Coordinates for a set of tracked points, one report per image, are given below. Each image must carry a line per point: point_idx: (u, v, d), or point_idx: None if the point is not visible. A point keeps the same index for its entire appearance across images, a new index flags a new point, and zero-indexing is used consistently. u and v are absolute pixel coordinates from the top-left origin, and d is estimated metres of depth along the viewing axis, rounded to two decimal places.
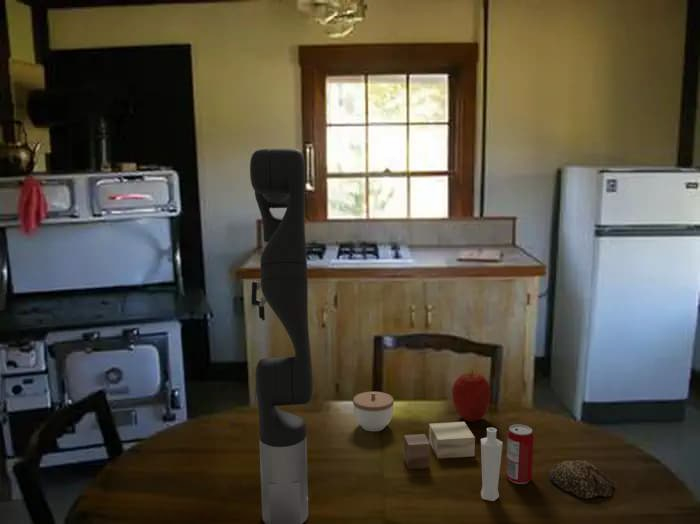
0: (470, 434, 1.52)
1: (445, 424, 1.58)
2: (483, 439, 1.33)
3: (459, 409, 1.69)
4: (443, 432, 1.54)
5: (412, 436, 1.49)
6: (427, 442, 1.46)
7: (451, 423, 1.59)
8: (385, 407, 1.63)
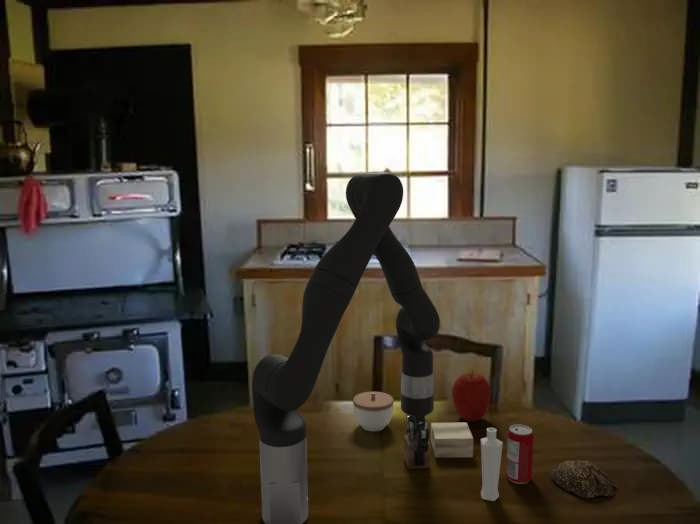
0: (469, 435, 1.52)
1: (446, 424, 1.58)
2: (483, 439, 1.33)
3: (459, 409, 1.69)
4: (442, 431, 1.54)
5: None
6: None
7: (453, 423, 1.59)
8: (385, 407, 1.63)
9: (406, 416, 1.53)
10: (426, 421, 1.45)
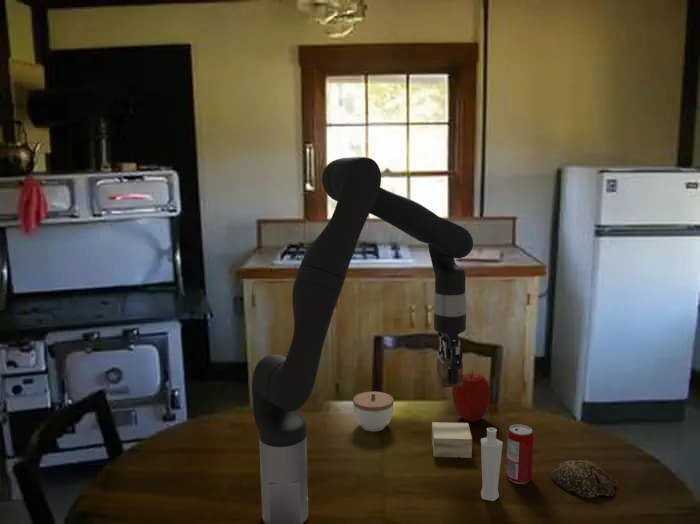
0: (468, 436, 1.52)
1: (447, 424, 1.58)
2: (483, 439, 1.33)
3: (459, 409, 1.69)
4: (442, 431, 1.54)
5: None
6: None
7: (454, 423, 1.59)
8: (385, 407, 1.63)
9: (438, 339, 1.56)
10: (459, 340, 1.49)
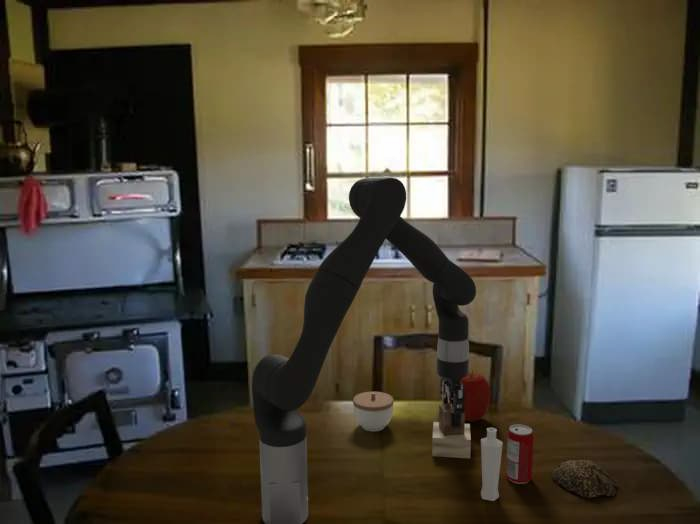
0: (468, 437, 1.51)
1: None
2: (483, 439, 1.33)
3: None
4: None
5: (447, 404, 1.55)
6: None
7: None
8: (385, 407, 1.63)
9: (440, 379, 1.59)
10: (461, 384, 1.51)
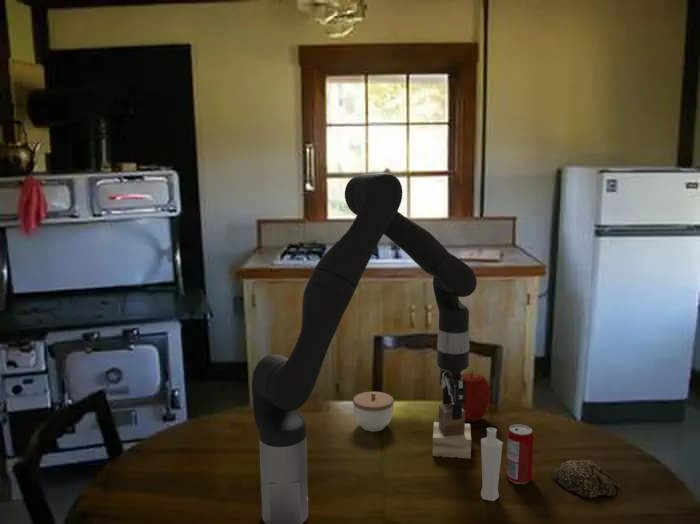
0: (468, 436, 1.51)
1: None
2: (483, 439, 1.33)
3: None
4: None
5: (447, 405, 1.55)
6: (462, 410, 1.52)
7: None
8: (385, 407, 1.63)
9: (440, 369, 1.59)
10: (461, 376, 1.51)
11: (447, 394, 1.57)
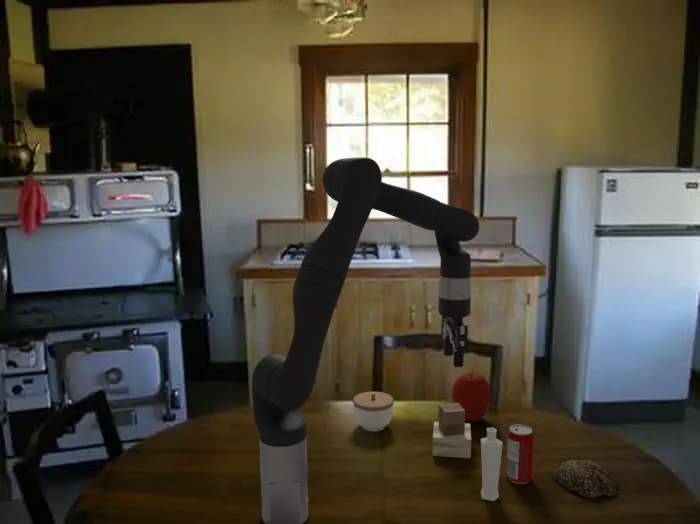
0: (468, 436, 1.51)
1: None
2: (483, 439, 1.33)
3: None
4: None
5: (446, 405, 1.55)
6: (462, 409, 1.52)
7: None
8: (385, 407, 1.63)
9: None
10: (463, 323, 1.49)
11: (448, 344, 1.55)
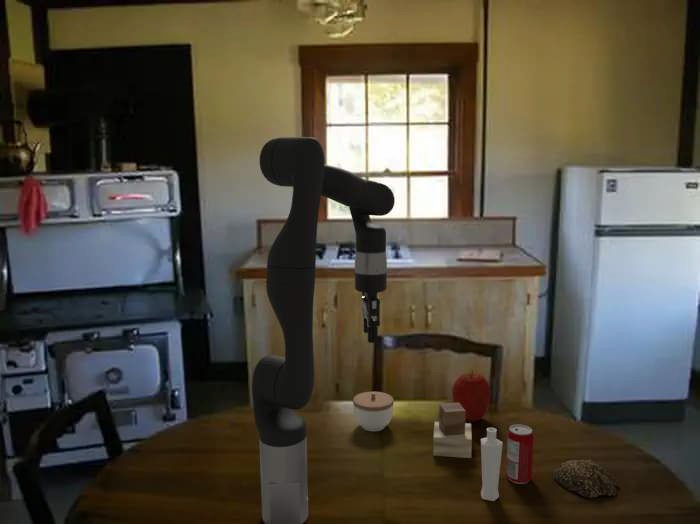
0: (469, 436, 1.52)
1: None
2: (483, 439, 1.33)
3: None
4: None
5: (447, 404, 1.55)
6: (463, 409, 1.52)
7: None
8: (385, 407, 1.63)
9: (362, 297, 1.56)
10: (379, 299, 1.48)
11: None
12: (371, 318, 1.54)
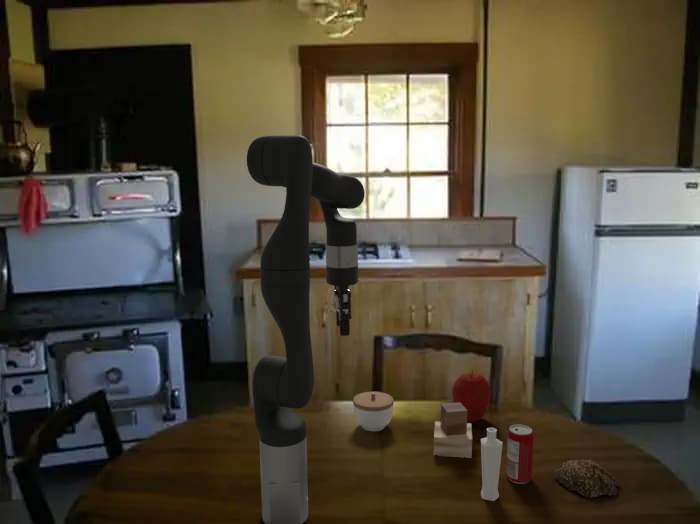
0: (469, 436, 1.52)
1: None
2: (483, 439, 1.33)
3: None
4: None
5: (449, 404, 1.55)
6: (464, 409, 1.52)
7: None
8: (385, 407, 1.63)
9: None
10: (350, 292, 1.48)
11: None
12: (344, 311, 1.55)
